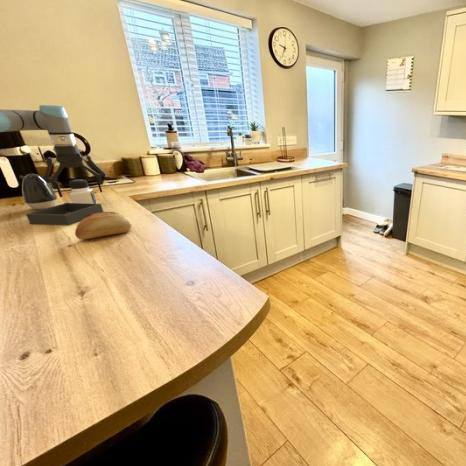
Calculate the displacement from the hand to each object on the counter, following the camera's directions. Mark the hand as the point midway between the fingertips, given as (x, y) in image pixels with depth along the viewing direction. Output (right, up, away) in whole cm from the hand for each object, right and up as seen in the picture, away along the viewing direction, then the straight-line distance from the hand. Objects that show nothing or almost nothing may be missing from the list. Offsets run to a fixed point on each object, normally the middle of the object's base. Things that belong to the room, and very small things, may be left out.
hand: (81, 194), depth 130 cm
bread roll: (+36, -19, -29) cm, 50 cm away
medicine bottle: (0, -6, +2) cm, 6 cm away
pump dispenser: (-16, -7, -1) cm, 18 cm away
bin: (+7, -12, -13) cm, 19 cm away
